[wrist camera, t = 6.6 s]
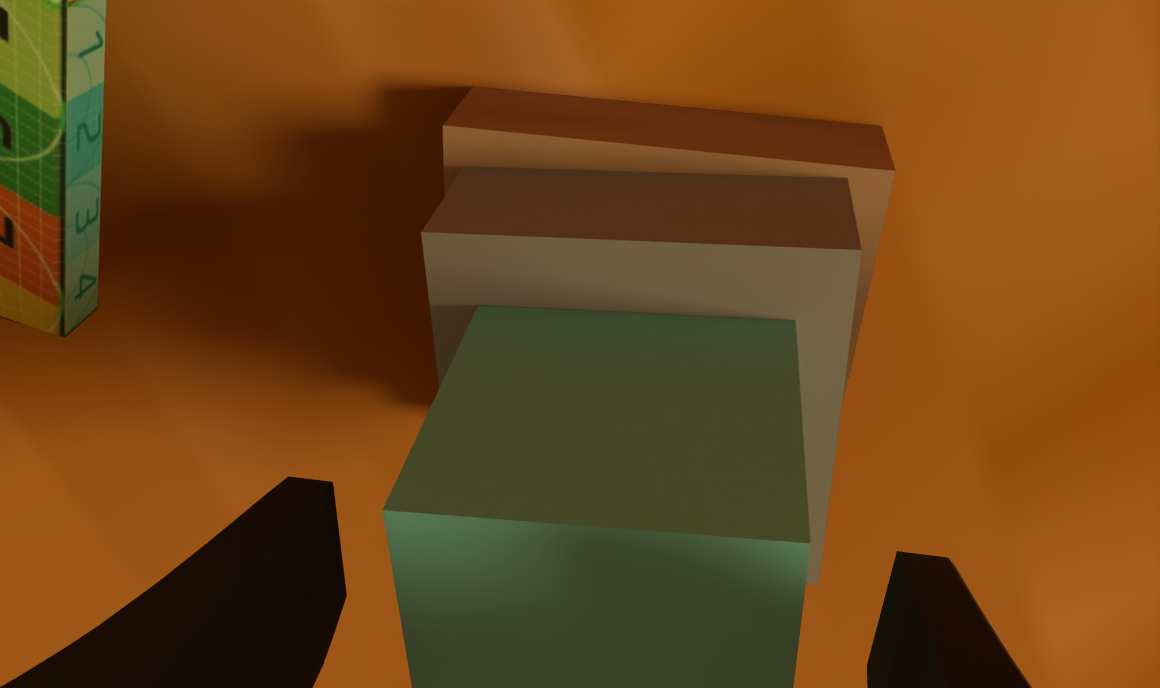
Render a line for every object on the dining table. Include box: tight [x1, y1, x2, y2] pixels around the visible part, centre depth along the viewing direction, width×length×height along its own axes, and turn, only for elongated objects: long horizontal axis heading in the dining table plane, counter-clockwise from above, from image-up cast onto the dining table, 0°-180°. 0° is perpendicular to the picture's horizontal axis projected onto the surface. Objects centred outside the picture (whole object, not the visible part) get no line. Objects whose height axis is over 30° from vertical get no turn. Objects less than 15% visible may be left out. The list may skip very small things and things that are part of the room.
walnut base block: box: [443, 86, 895, 409], centre depth 19 cm, size 7×7×2 cm
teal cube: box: [383, 305, 811, 688], centre depth 14 cm, size 4×4×4 cm
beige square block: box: [421, 166, 862, 584], centre depth 17 cm, size 6×6×2 cm
